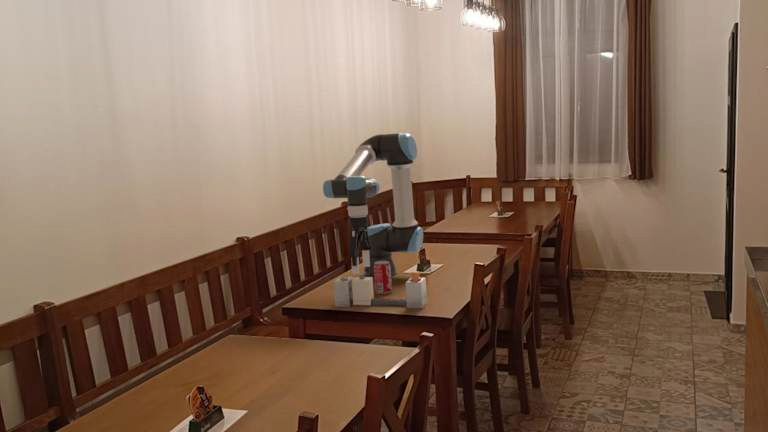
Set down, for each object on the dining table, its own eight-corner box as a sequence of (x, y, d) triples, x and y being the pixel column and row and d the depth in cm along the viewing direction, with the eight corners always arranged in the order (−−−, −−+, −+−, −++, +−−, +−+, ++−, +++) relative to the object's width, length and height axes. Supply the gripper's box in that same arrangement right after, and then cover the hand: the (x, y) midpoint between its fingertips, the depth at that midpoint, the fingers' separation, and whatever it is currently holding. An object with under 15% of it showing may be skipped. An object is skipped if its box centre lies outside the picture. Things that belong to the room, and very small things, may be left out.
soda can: (390, 294, 285) (388, 263, 284) (373, 295, 287) (371, 264, 285) (393, 290, 292) (392, 260, 290) (377, 290, 294) (375, 260, 292)
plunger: (413, 286, 268) (412, 271, 267) (420, 286, 267) (420, 271, 267) (411, 288, 265) (410, 273, 265) (419, 288, 265) (418, 273, 264)
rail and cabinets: (341, 301, 280) (340, 275, 279) (426, 302, 270) (425, 276, 269) (335, 306, 272) (333, 280, 271) (422, 308, 263) (421, 281, 261)
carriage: (357, 301, 277) (355, 274, 275) (374, 301, 275) (372, 274, 273) (353, 304, 272) (351, 277, 270) (370, 305, 270) (368, 277, 268)
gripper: (358, 212, 281) (361, 263, 284) (338, 220, 258) (341, 277, 260) (376, 211, 279) (379, 263, 282) (357, 220, 255) (360, 277, 258)
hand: (361, 270), depth 271 cm, fingers open, 13 cm apart
